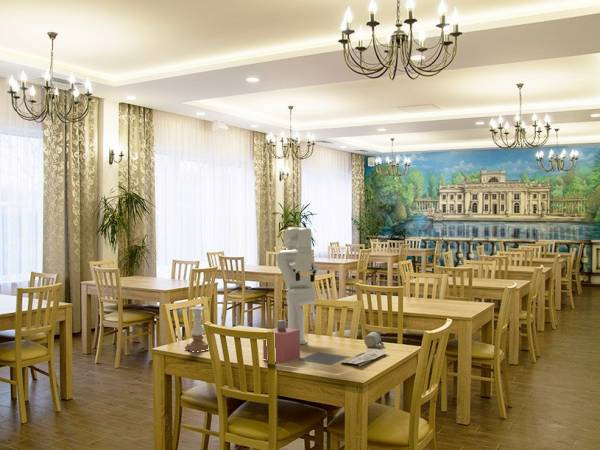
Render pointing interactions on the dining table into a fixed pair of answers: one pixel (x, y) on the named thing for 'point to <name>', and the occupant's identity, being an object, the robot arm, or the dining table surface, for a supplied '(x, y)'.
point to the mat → (324, 358)
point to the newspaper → (365, 357)
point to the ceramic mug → (373, 340)
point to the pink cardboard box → (285, 343)
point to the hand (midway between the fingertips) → (305, 281)
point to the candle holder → (197, 331)
